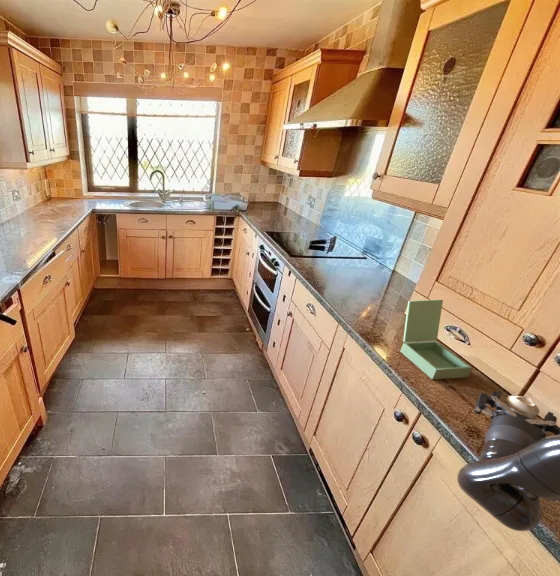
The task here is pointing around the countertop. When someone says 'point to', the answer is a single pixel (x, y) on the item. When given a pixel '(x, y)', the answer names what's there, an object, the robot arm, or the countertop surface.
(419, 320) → the caddy lid
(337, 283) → the countertop surface
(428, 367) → the tray
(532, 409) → the candle
